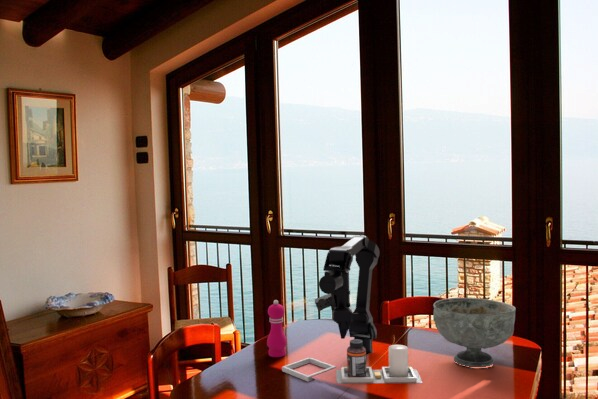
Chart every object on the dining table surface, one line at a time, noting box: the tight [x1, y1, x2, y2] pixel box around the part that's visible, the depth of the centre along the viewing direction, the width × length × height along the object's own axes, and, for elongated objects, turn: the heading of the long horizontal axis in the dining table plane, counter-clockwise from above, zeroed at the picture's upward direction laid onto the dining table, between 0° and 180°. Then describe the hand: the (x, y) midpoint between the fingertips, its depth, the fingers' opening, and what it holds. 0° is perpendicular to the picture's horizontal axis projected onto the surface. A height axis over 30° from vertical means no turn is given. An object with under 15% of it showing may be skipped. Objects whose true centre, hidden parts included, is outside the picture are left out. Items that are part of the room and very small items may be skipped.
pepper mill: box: [266, 299, 288, 358], centre depth 193 cm, size 7×7×20 cm
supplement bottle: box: [346, 338, 367, 377], centre depth 168 cm, size 6×6×11 cm
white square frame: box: [281, 357, 337, 382], centre depth 177 cm, size 13×13×2 cm
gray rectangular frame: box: [335, 366, 423, 384], centre depth 168 cm, size 26×11×2 cm, turn 87°
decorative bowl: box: [432, 297, 516, 367], centre depth 181 cm, size 26×26×20 cm
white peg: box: [388, 344, 409, 377], centre depth 167 cm, size 6×6×9 cm
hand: (341, 333), depth 174 cm, fingers open, 9 cm apart
